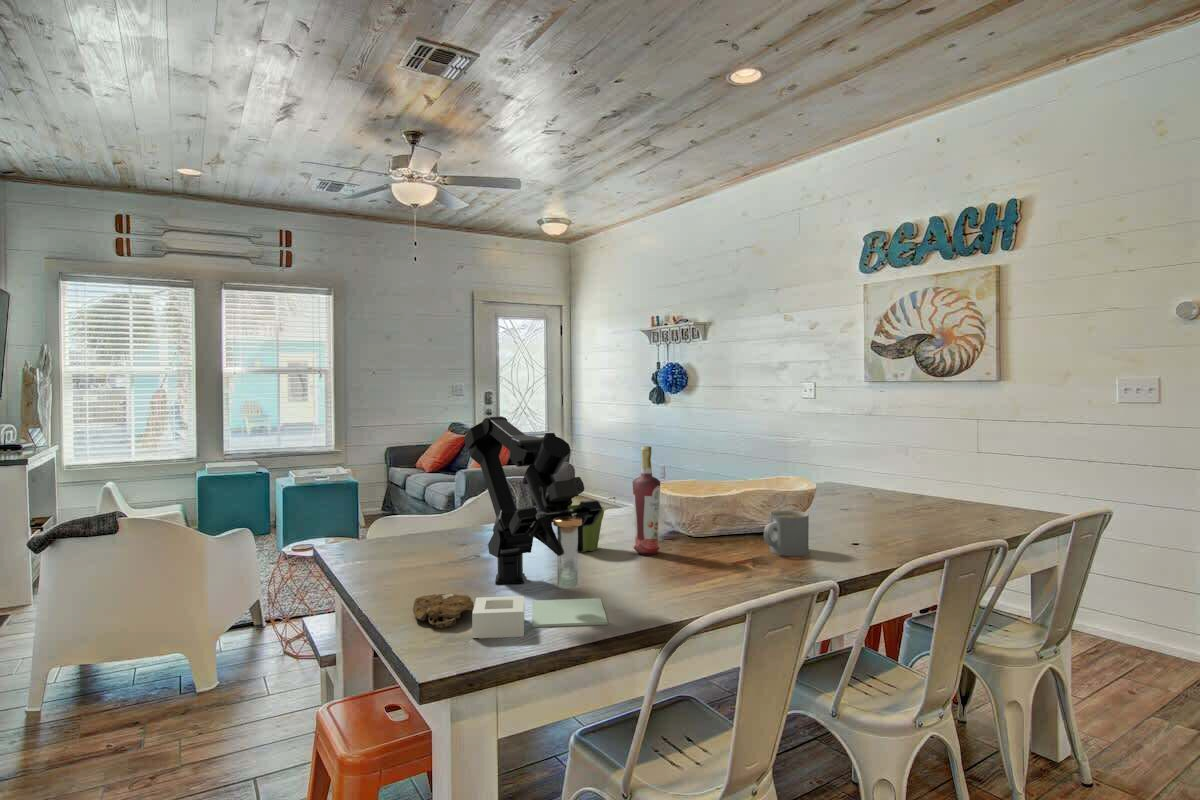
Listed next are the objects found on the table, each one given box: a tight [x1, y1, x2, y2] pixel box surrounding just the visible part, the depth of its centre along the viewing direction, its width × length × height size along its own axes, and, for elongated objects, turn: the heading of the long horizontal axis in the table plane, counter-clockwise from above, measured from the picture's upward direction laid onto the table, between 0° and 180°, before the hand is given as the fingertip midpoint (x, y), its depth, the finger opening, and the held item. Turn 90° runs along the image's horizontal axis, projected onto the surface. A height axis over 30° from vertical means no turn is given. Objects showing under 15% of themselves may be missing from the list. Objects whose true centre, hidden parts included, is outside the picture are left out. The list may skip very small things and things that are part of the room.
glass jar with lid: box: [552, 516, 582, 589], centre depth 135 cm, size 6×6×13 cm
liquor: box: [632, 446, 661, 556], centre depth 182 cm, size 7×7×28 cm
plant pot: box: [568, 504, 607, 553], centre depth 187 cm, size 12×12×11 cm
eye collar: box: [471, 595, 525, 639], centre depth 127 cm, size 9×9×4 cm
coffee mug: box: [763, 509, 810, 557], centre depth 183 cm, size 13×10×10 cm
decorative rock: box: [412, 593, 475, 629], centre depth 134 cm, size 11×4×15 cm
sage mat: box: [531, 597, 609, 628], centre depth 135 cm, size 14×14×1 cm
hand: (571, 553), depth 134 cm, fingers closed on glass jar with lid, 4 cm apart
